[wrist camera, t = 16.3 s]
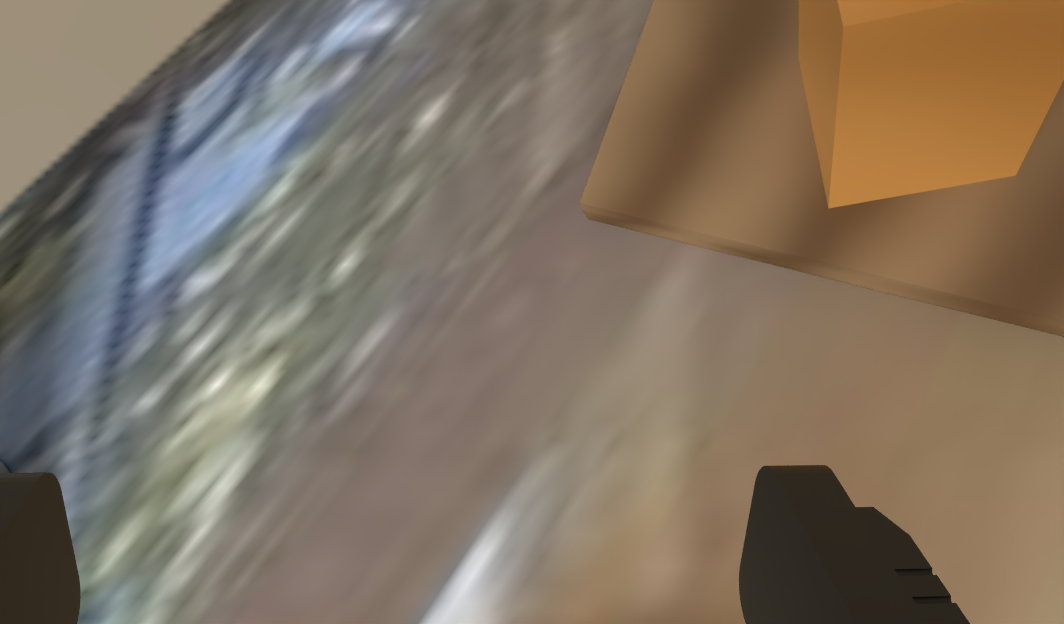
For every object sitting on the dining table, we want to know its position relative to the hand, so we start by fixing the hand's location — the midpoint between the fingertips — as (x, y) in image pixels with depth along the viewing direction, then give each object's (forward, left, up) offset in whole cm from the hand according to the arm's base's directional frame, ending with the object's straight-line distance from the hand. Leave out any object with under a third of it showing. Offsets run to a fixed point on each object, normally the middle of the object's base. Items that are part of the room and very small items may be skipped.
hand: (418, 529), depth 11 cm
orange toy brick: (+3, +18, -21) cm, 28 cm away
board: (+2, +17, -23) cm, 29 cm away
